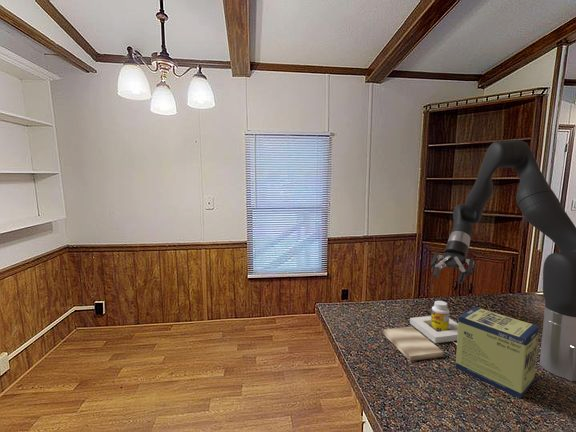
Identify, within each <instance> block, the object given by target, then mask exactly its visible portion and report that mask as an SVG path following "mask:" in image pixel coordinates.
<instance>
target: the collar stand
mask: <svg viewBox="0 0 576 432" xmlns="http://www.w3.org/2000/svg"><path fill="white" fill-rule="evenodd" d="M409 324H410V325H411V326H412V327H413V328H415V329H416V330H417V331H418V332H420V333H421V334H422V335H423V336H425V337H426V338H427V339H428V340H430V341H431V342H432V343H433V344H439V343H445V342H446V343H447V342H448V343H449V342H455V341H456V342H457V336H458V322H457V321H455V320H453V319H452V318H450V317H449V330H448V331H440V332H437V331H436V330H434V329H433V328H431V315H427V316H418V317H417V316H416V317H410V318H409Z"/></svg>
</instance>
